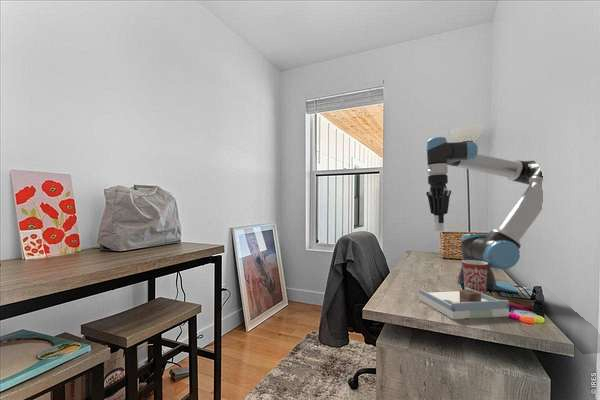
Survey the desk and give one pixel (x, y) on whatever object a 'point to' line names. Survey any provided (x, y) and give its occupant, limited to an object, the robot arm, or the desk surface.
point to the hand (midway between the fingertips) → (439, 230)
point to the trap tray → (465, 305)
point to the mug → (475, 275)
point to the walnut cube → (469, 296)
